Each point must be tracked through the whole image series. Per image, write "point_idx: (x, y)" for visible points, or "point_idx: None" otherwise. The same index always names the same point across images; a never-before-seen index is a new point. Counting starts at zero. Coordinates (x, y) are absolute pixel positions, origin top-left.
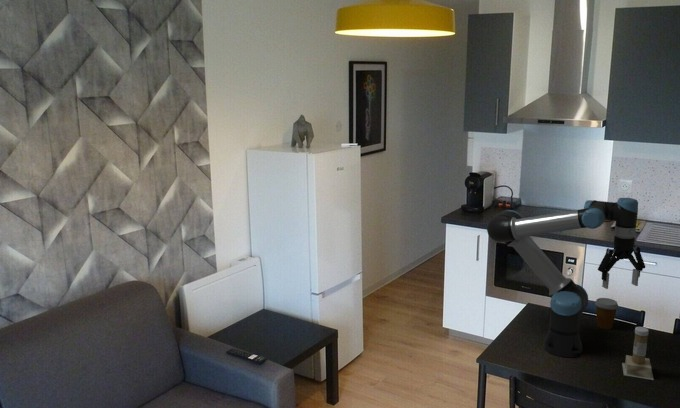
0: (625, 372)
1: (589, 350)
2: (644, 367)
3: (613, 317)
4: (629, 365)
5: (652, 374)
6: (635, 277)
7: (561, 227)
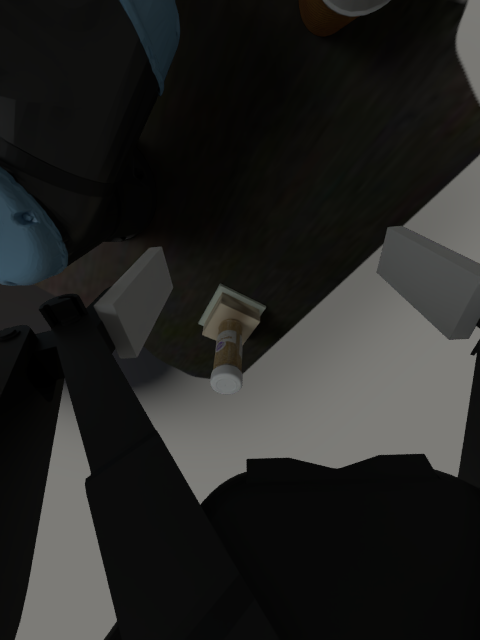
0: (206, 317)
1: (177, 206)
2: None
3: (355, 18)
4: (205, 334)
5: None
6: (412, 286)
7: None
